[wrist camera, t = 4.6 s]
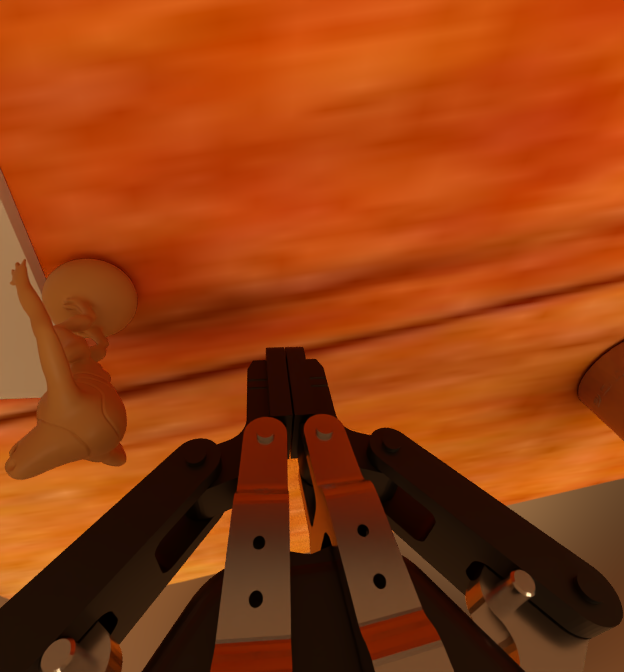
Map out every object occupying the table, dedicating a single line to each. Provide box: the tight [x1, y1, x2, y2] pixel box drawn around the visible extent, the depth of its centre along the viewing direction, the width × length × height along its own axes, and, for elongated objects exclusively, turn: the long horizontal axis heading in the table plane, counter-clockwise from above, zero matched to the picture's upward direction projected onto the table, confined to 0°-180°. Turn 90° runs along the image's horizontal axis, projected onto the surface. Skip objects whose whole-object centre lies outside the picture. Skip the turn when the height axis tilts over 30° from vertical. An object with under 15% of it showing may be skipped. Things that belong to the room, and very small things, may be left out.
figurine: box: [5, 259, 137, 480], centre depth 14 cm, size 8×6×12 cm
